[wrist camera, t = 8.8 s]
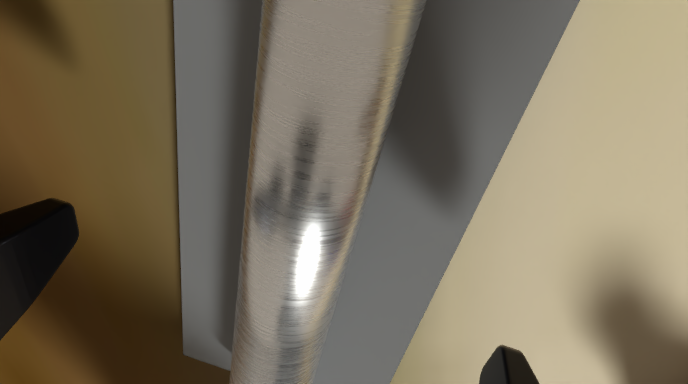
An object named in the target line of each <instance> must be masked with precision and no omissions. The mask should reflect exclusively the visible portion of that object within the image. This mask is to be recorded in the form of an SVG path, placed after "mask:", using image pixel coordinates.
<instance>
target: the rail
mask: <svg viewBox="0 0 688 384" xmlns="http://www.w3.org/2000/svg"><path fill="white" fill-rule="evenodd" d="M425 3H426V0H262V11H261V23H260V35H259V46H258V58H257V69H256V81H255V92H254V104H253V116H252V127H251V139H250V150H249V162H248V173H247V185H246V197H245V208H244V220H243V231H242V243H241V254H240V266H239V278H238V289H237V301H236V312H235V324H234V335H233V347H232V359H231V370H230V382H229V384H312V383H313V379H314V376H315V373H316V369H317V366H318V363H319V359H320V356H321V353H322V349H323V346H324V343H325V339H326V336H327V332H328V329H329V326H330V322H331V319H332V316H333V312H334V309H335V306H336V302H337V299H338V296H339V292H340V289H341V285H342V282H343V279H344V275H345V272H346V269H347V265H348V262H349V259H350V255H351V252H352V248H353V245H354V242H355V238H356V235H357V232H358V228H359V225H360V222H361V218H362V215H363V212H364V208H365V205H366V201H367V198H368V195H369V191H370V188H371V185H372V181H373V178H374V175H375V171H376V168H377V165H378V161H379V158H380V154H381V151H382V148H383V144H384V141H385V138H386V134H387V131H388V128H389V124H390V121H391V117H392V114H393V111H394V107H395V104H396V101H397V97H398V94H399V91H400V87H401V84H402V81H403V77H404V74H405V70H406V67H407V64H408V60H409V57H410V54H411V50H412V47H413V44H414V40H415V37H416V34H417V30H418V27H419V23H420V20H421V17H422V13H423V10H424V7H425Z"/></svg>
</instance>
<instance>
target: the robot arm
mask: <svg viewBox="0 0 688 384" xmlns="http://www.w3.org/2000/svg"><path fill="white" fill-rule="evenodd" d="M78 236H79V229H78V224H77V220H76V215H75V210H74V207H73V206H72V205H71V204H70V203H68V202H65V201H62V200H59V199H55V198H49V199H46V200H42V201H39V202H36V203H33V204H30V205H27V206H24V207H21V208H18V209H14V210H11V211H8V212H5V213H2V214H0V340H1V339H2V338H3V337H4V335H5V334H6V333H7V332H8V331H9V330H10V329H11V328H12V326H13V325H14V324H15V323H16V322H17V321H18V320H19V318H20V317H21V316H22V315H23V314H24V313H25V311H26V310H27V309H28V308H29V307H30V306H31V304H32V303H33V302H34V300H35V299H36V298H37V297H38V295H39V294H40V293H41V291H42V290H43V288H44V287H45V286H46V284H47V283H48V281H49V280H50V279H51V277H52V276H53V274H54V273H55V272H56V270H57V269H58V267H59V266H60V265H61V263H62V262H63V260H64V259H65V258H66V256H67V255H68V253H69V252H70V251H71V249H72V248H73V246H74V245H75V243H76V242H77V240H78ZM479 384H539V382H538V380H537V378H536V376H535V375H534V373H533V371H532V369H531V367H530V365H529V364H528V362H527V360H526V358H525V356H524V355H523V353H522V352H520V351H519V350H516V349H513V348H510V347H507V346H504V345H500V346H498V347H497V348H496V350H495V351H494V353H493V354H492V355H491V357H490V358H489V360H488V361H487V363H486V364H485V365H484V367H483V369H482V372H481V375H480V381H479Z"/></svg>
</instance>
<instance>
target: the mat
mask: <svg viewBox="0 0 688 384" xmlns="http://www.w3.org/2000/svg"><path fill="white" fill-rule="evenodd" d="M579 1H580V0H426V3H425V7H424V10H423V13H422V17H421V20H420V23H419V27H418V30H417V34H416V37H415V40H414V44H413V47H412V50H411V54H410V57H409V60H408V64H407V67H406V70H405V74H404V77H403V81H402V84H401V87H400V91H399V94H398V97H397V101H396V104H395V107H394V111H393V114H392V117H391V121H390V124H389V128H388V131H387V134H386V138H385V141H384V144H383V148H382V151H381V154H380V158H379V161H378V165H377V168H376V171H375V175H374V178H373V181H372V185H371V188H370V191H369V195H368V198H367V201H366V205H365V208H364V212H363V215H362V218H361V222H360V225H359V228H358V232H357V235H356V238H355V242H354V245H353V248H352V252H351V255H350V259H349V262H348V265H347V269H346V272H345V275H344V279H343V282H342V285H341V289H340V292H339V296H338V299H337V302H336V306H335V309H334V312H333V316H332V319H331V322H330V326H329V329H328V332H327V336H326V339H325V343H324V346H323V349H322V353H321V356H320V359H319V363H318V366H317V369H316V373H315V376H314V379H313V383H312V384H390V382H391V380H392V378H393V376H394V374H395V372H396V370H397V368H398V366H399V364H400V362H401V360H402V358H403V356H404V354H405V352H406V349H407V347H408V345H409V343H410V341H411V339H412V337H413V335H414V333H415V331H416V329H417V327H418V325H419V323H420V321H421V319H422V317H423V315H424V313H425V311H426V309H427V307H428V305H429V303H430V301H431V299H432V297H433V295H434V293H435V291H436V289H437V287H438V285H439V283H440V281H441V279H442V277H443V275H444V273H445V271H446V269H447V267H448V265H449V263H450V261H451V259H452V257H453V255H454V253H455V251H456V249H457V247H458V245H459V243H460V241H461V239H462V237H463V235H464V233H465V231H466V229H467V227H468V225H469V223H470V221H471V219H472V216H473V214H474V212H475V210H476V208H477V206H478V204H479V202H480V200H481V198H482V196H483V194H484V192H485V190H486V188H487V186H488V184H489V182H490V180H491V178H492V176H493V174H494V172H495V170H496V168H497V166H498V164H499V162H500V160H501V158H502V156H503V154H504V152H505V150H506V148H507V146H508V144H509V142H510V140H511V138H512V136H513V134H514V132H515V130H516V128H517V126H518V124H519V122H520V120H521V118H522V116H523V114H524V112H525V110H526V108H527V106H528V104H529V102H530V100H531V98H532V96H533V94H534V92H535V90H536V88H537V85H538V83H539V81H540V79H541V77H542V75H543V73H544V71H545V69H546V67H547V65H548V63H549V61H550V59H551V57H552V55H553V53H554V51H555V49H556V47H557V45H558V43H559V41H560V39H561V37H562V35H563V33H564V31H565V29H566V27H567V25H568V23H569V21H570V19H571V17H572V15H573V13H574V11H575V9H576V7H577V5H578V3H579ZM173 5H174V40H175V76H176V112H177V147H178V183H179V219H180V255H181V290H182V326H183V355H186V356H188V357H191V358H194V359H197V360H200V361H203V362H206V363H209V364H211V365H214V366H217V367H220V368H223V369H226V370H229V371H230V370H231V359H232V347H233V335H234V324H235V312H236V301H237V289H238V278H239V266H240V254H241V243H242V231H243V220H244V208H245V197H246V185H247V173H248V162H249V150H250V139H251V127H252V116H253V104H254V92H255V81H256V69H257V58H258V46H259V35H260V23H261V11H262V0H173Z"/></svg>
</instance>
